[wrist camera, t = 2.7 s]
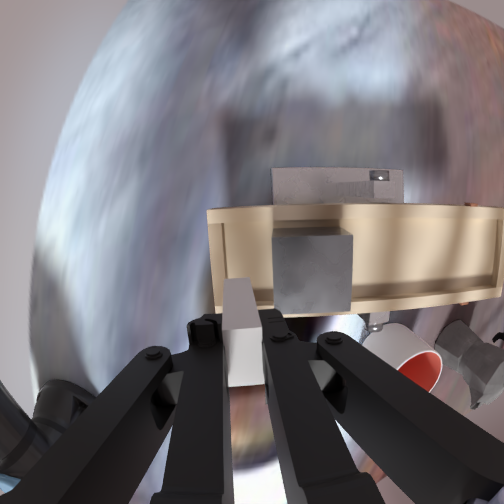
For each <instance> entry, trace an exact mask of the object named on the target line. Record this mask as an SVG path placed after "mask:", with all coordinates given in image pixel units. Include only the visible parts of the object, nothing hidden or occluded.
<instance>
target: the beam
mask: <svg viewBox="0 0 504 504" xmlns="http://www.w3.org/2000/svg"><path fill="white" fill-rule="evenodd" d="M207 221H208V234H209V247H210V258H211V270H212V280H213V291H214V301H215V310H216V314H217V313H223V288H224V279H231V278H245V277H250V281H251V285H252V289H253V293H254V297H255V301H256V305H257V309H258V310H261V309H273V308H274V292H273V265H272V241H271V237H272V231H273V228H299V227H333V226H340V227H342V228H343V229H345V230H346V231H348V232H350V233H351V234H353V273H352V295H351V311H348V312H331V313H310V314H282V315H283V317H308V316H329V315H346V314H360V313H373V312H385V311H396V310H406V309H416V308H425V307H433V306H441V305H449V304H456V303H459V304H460V305H467V304H468V302H470V301H477V300H483V299H489V298H495V297H501V292H502V287H503V281H504V208H502V207H494V206H478V204H475V203H465V205H456V204H425V203H380V202H375V203H318V204H284V205H260V206H240V207H223V208H212V209H209V210H207Z"/></svg>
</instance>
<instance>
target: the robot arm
mask: <svg viewBox="0 0 504 504" xmlns="http://www.w3.org/2000/svg"><path fill="white" fill-rule="evenodd" d="M187 332H188V338H189V349H188V350H187V351H185V352H182V353H178V354H174V355H171V353H170V350H169V349H167V348H166V347H162V346H151V347H148V348H146V349H143V350H142V351H140V352H139V353H138V354H137V355H136V356H135V357H134V358H133V359H132V360H131V361H130V362H129V364H128V365H127V366H126V367H125V368H124V369H123V370H122V371H121V372H120V373H119V374H118V375H117V376H116V377H115V378H114V379H113V380H112V382H111V383H110V384H109V385H108V386H107V387H106V388H105V389H104V390H103V391H102V392H101V393H100V394H99V395H98V396H97V398H95V397H94V396H92V395H91V394H90V393H89V392H87V391H86V390H84V389H83V388H81V387H79V386H77V385H75V384H73V383H70V382H67V381H63V380H51V381H48V382H47V383H46V384H45V385H44V386H43V387H42V388H41V390H40V391H39V393H38V395H37V403H36V405H35V409H34V413H33V418H32V419H30V418H29V417H28V415H27V414H26V413H25V412H24V411H23V409H22V408H21V407H20V406H19V405H18V403H17V402H16V401H15V399H14V398H13V397H12V396H11V394H10V393H9V392H8V390H7V389H6V388H5V386H4V385H3V383H2V382H1V381H0V489H1V490H2V491H3V492H4V493H5V494H3V495H1V496H0V504H128V503H129V502H130V500H131V498H132V496H133V495H134V493H135V491H136V489H137V488H138V486H139V484H140V482H141V480H142V479H143V477H144V475H145V473H146V472H147V470H148V468H149V466H150V465H151V463H152V461H153V459H154V457H155V456H156V454H157V452H158V450H159V448H160V447H161V445H162V443H163V441H164V440H165V438H166V436H167V434H168V432H169V431H170V429H171V427H172V425H173V427H172V432H171V438H170V443H169V449H168V455H167V460H166V466H165V472H164V478H163V485H162V489H161V491H160V492H157V493H154V494H153V496H152V498H151V501H150V504H234V488H233V469H232V448H231V424H230V395H229V387H232V386H246V385H257V384H265V397H266V404H268V408H269V413H270V418H271V423H272V428H273V434H274V439H275V444H276V449H277V454H278V459H279V464H280V469H281V474H282V479H283V484H284V489H285V493H286V498H287V503H288V504H385V502H384V500H383V498H382V496H381V494H380V492H379V490H378V487H377V485H376V483H375V481H374V480H373V478H372V477H371V475H370V474H368V473H367V472H363V473H361V472H359V471H358V469H357V468H356V465H355V463H354V461H353V459H352V457H351V454H350V452H349V450H348V448H347V445H346V443H345V441H344V439H343V437H342V434H341V432H340V430H339V428H338V426H337V423H336V421H337V422H338V423H339V424H340V425H341V426H342V427H343V429H344V430H345V431H346V432H347V433H348V434H349V435H350V436H351V437H352V438H353V440H354V441H355V442H356V443H357V444H358V445H359V446H360V447H361V448H362V449H363V450H364V451H365V453H366V454H367V455H368V456H369V457H370V458H371V459H372V460H373V461H374V462H375V463H376V464H377V465H378V466H379V467H380V468H381V469H382V471H383V472H384V473H385V474H386V475H387V476H388V477H389V478H390V479H391V480H392V481H393V482H394V483H395V484H396V485H397V486H398V487H399V488H400V489H401V490H402V491H403V492H404V493H405V494H406V495H407V496H408V497H409V498H410V499H411V500H412V501H413V502H414V503H415V504H504V443H503V442H501V441H500V440H498V439H496V438H495V437H494V436H492V435H491V434H489V433H488V432H486V431H485V430H483V429H482V428H480V427H479V426H477V425H476V424H474V423H473V422H471V421H470V420H469V419H467V418H466V417H464V416H463V415H461V414H460V413H458V412H457V411H455V410H454V409H452V408H451V407H450V406H448V405H447V404H445V403H444V402H442V401H441V400H439V399H438V398H436V397H435V396H434V395H432V394H431V393H429V392H428V391H426V390H425V389H423V388H422V387H421V386H419V385H418V384H416V383H415V382H413V381H412V380H411V379H409V378H408V377H406V376H405V375H403V374H402V373H401V372H399V371H398V370H396V369H395V368H393V367H392V366H391V365H389V364H388V363H386V362H385V361H383V360H382V359H381V358H379V357H378V356H376V355H375V354H374V353H372V352H371V351H369V350H368V349H366V348H365V347H364V346H362V345H361V344H359V343H358V342H357V341H355V340H354V339H352V338H351V337H350V336H348V335H346V334H344V333H341V332H337V331H334V332H333V331H330V332H326V333H323V334H321V335H319V336H318V337H317V343H309V342H302V341H299V340H298V338H297V336H296V335H295V334H294V333H293V332H290V331H289V329H288V327H287V324H286V322H285V320H284V318H283V315H282V313H281V312H280V311H279V310H277V309H276V308H273V309H261V310H258V309H257V305H256V301H255V297H254V293H253V289H252V285H251V281H250V277H245V278H231V279H224V288H223V313H217V314H204V315H203V316H202V317H201V318H198V319H195V320H192V321H191V322H189V323H188V324H187ZM264 379H265V383H264ZM334 418H335V419H334ZM335 420H336V421H335Z"/></svg>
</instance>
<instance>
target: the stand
mask: <svg viewBox="0 0 504 504" xmlns="http://www.w3.org/2000/svg"><path fill="white" fill-rule="evenodd" d="M271 186H272V205H284V204H318V203H375V202H380V203H404V186H403V170H395V169H376V168H347V167H286V168H271ZM358 315H359V316H360V317H361V318H362V319H363V320H364V321H365V329H366V330H367V331H369V332H380V331H382V329H383V323H384V322H389V315H390V311H385V312H373V313H360V314H358Z"/></svg>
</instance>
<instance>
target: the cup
mask: <svg viewBox="0 0 504 504" xmlns="http://www.w3.org/2000/svg"><path fill="white" fill-rule="evenodd" d="M362 346H364V347H365V348H366V349H368V350H369V351H371V352H372V353H374V354H375V355H376V356H378V357H379V358H381V359H382V360H383V361H385V362H386V363H388V364H389V365H391V366H392V367H393V368H395V369H396V370H398V371H399V372H401V373H402V374H403V375H405V376H406V377H408V378H409V379H411V380H412V381H413V382H415V383H416V384H418V385H419V386H421V387H422V388H423V389H425V390H426V391H428V392H430V391H431V390H432V389H433V387H434V386H435V384H436V383H437V381H438V379H439V376H440V374H441V370H442V358H441V356H440V354H439V353H438V352H437V351H436V350H434V349H433V348H432V347H431V346H430V345H428V344H427V343H426V342H425V341H423V340H422V339H421V338H420V337H418V336H417V335H416V334H415V333H413V332H412V331H411V330H410V329H408V328H407V327H406V326H404V325H402V324H398V323H390V324H386V325H383V329H382V331H380V332H372V333H371V334H370V335H369V336H368V337H367V338H366V339H365V341H364V342H363V344H362Z"/></svg>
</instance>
